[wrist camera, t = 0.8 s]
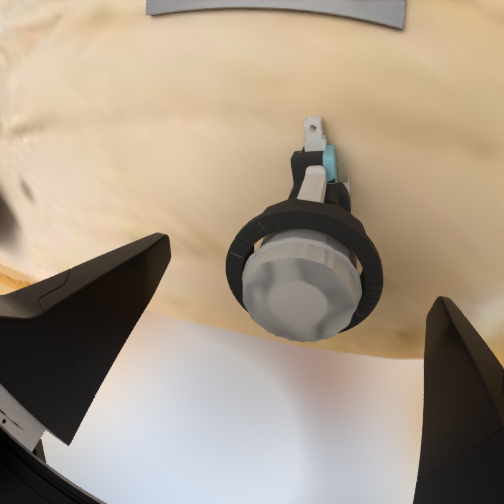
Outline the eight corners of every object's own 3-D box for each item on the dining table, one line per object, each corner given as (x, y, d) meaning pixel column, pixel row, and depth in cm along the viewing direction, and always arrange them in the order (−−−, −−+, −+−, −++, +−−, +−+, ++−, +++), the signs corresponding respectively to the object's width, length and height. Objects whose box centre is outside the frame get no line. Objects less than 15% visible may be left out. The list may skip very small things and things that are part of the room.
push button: (267, 119, 16) (182, 188, 8) (364, 112, 14) (391, 176, 6) (285, 224, 19) (235, 350, 12) (370, 222, 18) (376, 359, 10)
